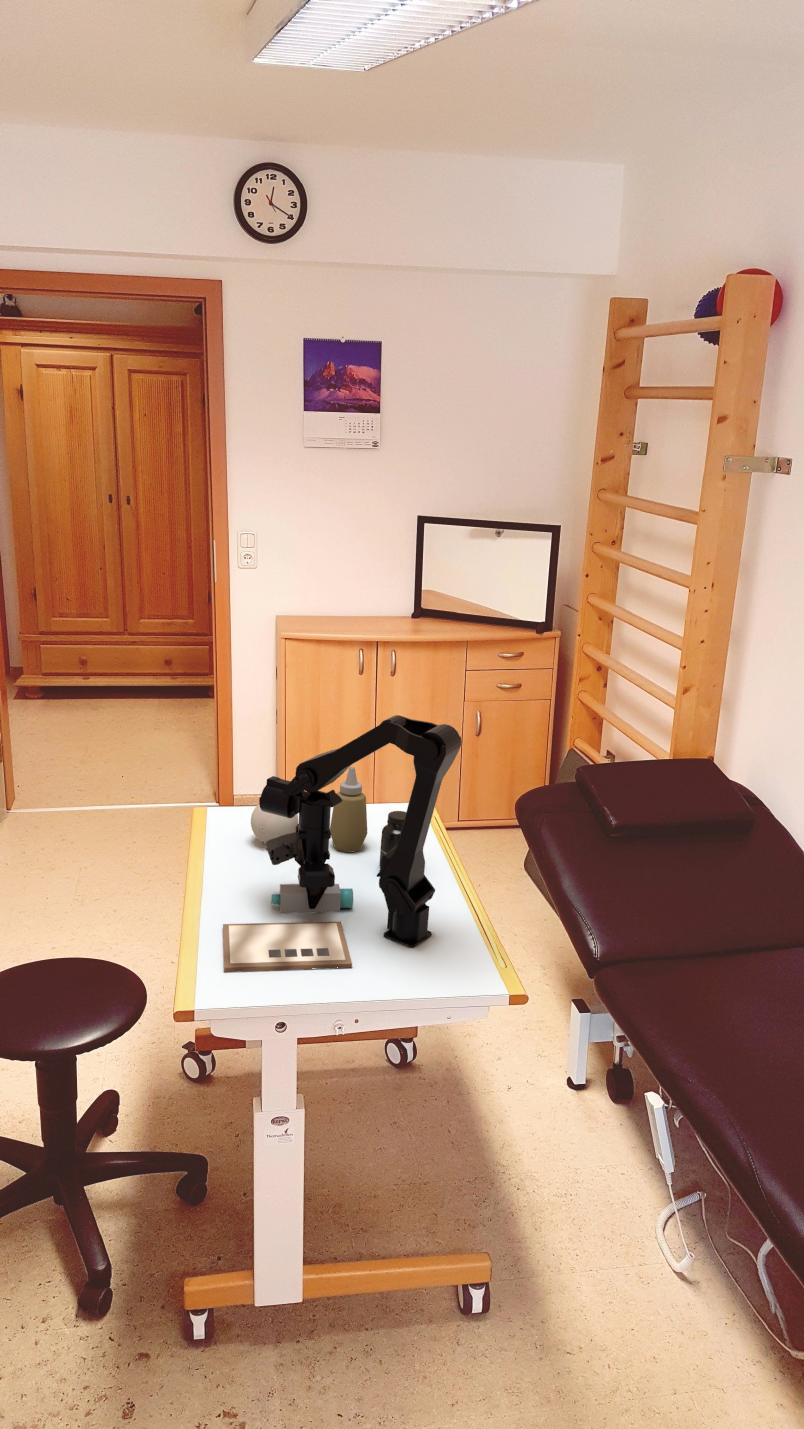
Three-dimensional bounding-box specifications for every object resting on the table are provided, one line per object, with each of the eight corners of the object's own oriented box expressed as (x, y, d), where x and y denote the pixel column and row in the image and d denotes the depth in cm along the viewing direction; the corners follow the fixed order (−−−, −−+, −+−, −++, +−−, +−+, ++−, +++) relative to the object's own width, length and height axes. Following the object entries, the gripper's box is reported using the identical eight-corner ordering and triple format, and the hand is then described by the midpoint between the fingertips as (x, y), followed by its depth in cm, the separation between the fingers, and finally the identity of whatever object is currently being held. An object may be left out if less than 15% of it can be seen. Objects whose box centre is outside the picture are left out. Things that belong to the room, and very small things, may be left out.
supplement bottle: (373, 870, 207) (376, 815, 204) (388, 859, 213) (392, 806, 210) (402, 879, 204) (406, 823, 201) (418, 867, 210) (422, 813, 207)
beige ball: (241, 846, 215) (242, 801, 212) (265, 830, 224) (266, 787, 221) (282, 856, 211) (284, 811, 208) (305, 839, 220) (307, 796, 217)
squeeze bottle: (324, 841, 220) (328, 762, 215) (359, 838, 223) (364, 760, 218) (335, 856, 213) (339, 775, 208) (371, 853, 215) (376, 773, 211)
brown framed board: (340, 925, 184) (341, 919, 183) (351, 967, 169) (352, 962, 169) (222, 928, 180) (223, 922, 179) (224, 972, 165) (224, 966, 165)
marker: (350, 903, 193) (351, 883, 192) (352, 912, 189) (353, 893, 188) (270, 903, 190) (271, 884, 189) (271, 913, 186) (272, 893, 185)
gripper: (267, 804, 192) (264, 880, 197) (272, 844, 175) (269, 926, 179) (325, 804, 194) (321, 879, 199) (337, 843, 177) (332, 924, 181)
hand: (310, 901), depth 189 cm, fingers open, 6 cm apart
